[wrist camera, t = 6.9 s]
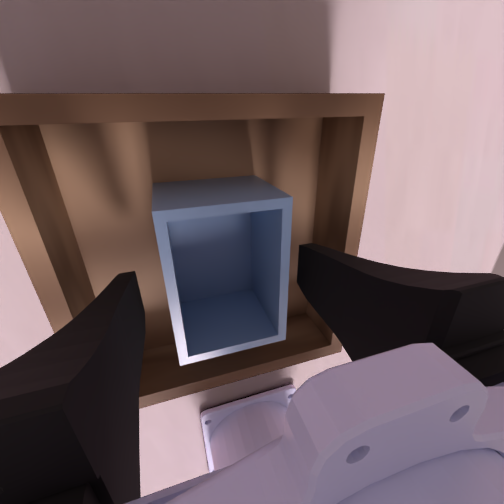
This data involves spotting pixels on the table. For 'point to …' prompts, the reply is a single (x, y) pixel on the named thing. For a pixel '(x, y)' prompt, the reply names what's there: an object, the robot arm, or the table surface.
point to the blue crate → (224, 262)
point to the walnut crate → (169, 170)
